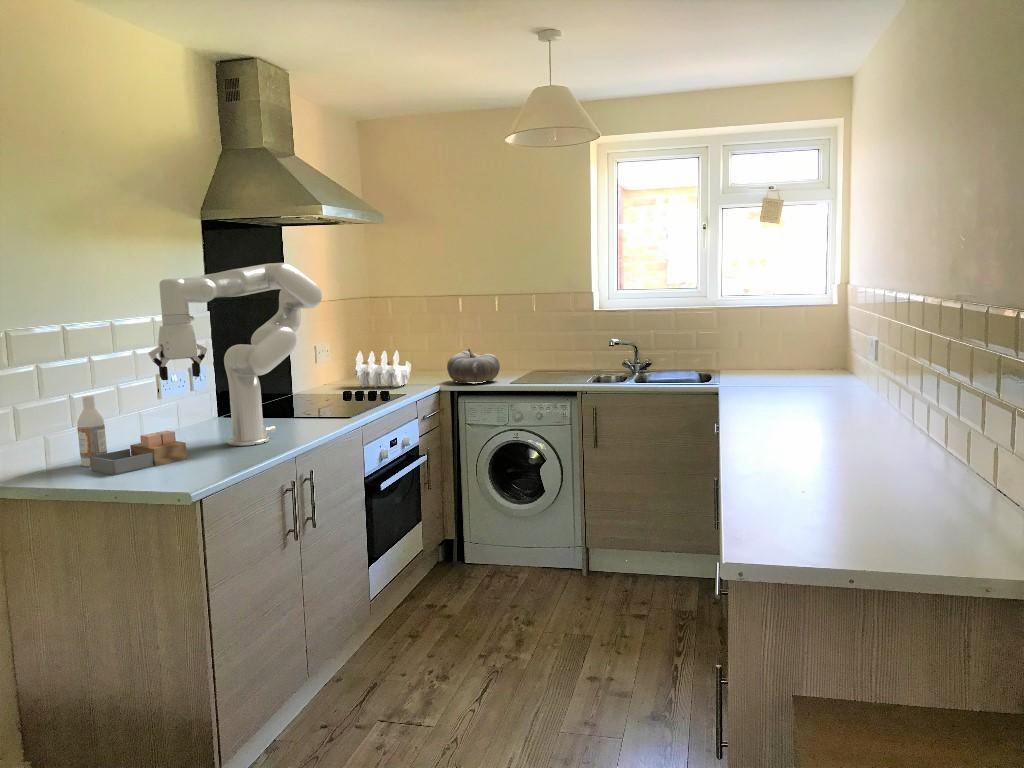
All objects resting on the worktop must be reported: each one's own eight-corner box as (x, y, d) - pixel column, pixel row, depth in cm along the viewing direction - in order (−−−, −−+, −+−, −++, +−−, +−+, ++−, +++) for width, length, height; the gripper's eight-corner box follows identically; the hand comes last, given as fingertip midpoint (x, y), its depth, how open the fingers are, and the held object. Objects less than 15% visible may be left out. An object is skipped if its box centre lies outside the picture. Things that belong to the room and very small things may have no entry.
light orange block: (153, 443, 236) (153, 433, 235) (161, 444, 233) (160, 434, 233) (141, 445, 232) (140, 435, 232) (148, 447, 230) (148, 436, 230)
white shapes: (405, 396, 379) (354, 394, 383) (414, 376, 394) (365, 374, 397) (401, 363, 369) (348, 361, 373) (410, 344, 384) (359, 342, 387)
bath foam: (76, 465, 231) (69, 397, 229) (98, 460, 238) (91, 394, 235) (91, 468, 228) (84, 398, 226) (113, 462, 234) (106, 395, 232)
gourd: (454, 374, 406) (458, 340, 402) (502, 382, 402) (506, 348, 397) (440, 385, 383) (443, 350, 378) (490, 394, 378) (494, 359, 374)
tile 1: (168, 440, 239) (167, 430, 239) (175, 441, 237) (175, 431, 237) (155, 442, 236) (154, 432, 236) (163, 444, 234) (162, 434, 233)
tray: (130, 462, 234) (128, 448, 234) (153, 466, 227) (152, 452, 227) (91, 470, 225) (89, 456, 224) (114, 475, 218) (112, 461, 217)
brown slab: (163, 455, 243) (161, 438, 242) (186, 459, 236) (185, 442, 235) (131, 461, 235) (130, 445, 234) (155, 466, 228) (153, 448, 227)
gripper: (198, 319, 246) (202, 374, 248) (141, 322, 233) (146, 380, 235) (210, 319, 241) (214, 376, 243) (152, 322, 228) (157, 382, 230)
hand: (180, 378), depth 239 cm, fingers open, 9 cm apart
